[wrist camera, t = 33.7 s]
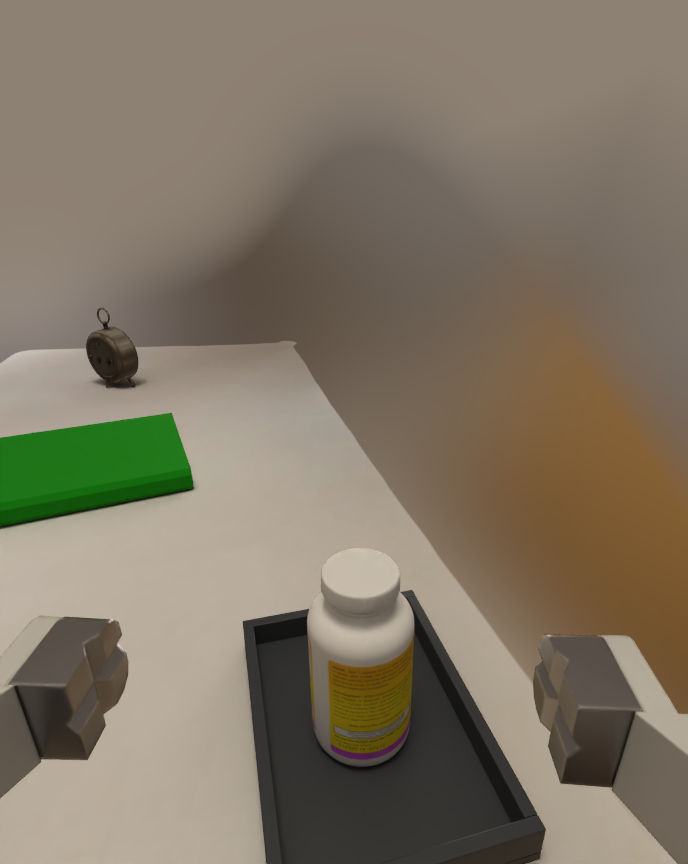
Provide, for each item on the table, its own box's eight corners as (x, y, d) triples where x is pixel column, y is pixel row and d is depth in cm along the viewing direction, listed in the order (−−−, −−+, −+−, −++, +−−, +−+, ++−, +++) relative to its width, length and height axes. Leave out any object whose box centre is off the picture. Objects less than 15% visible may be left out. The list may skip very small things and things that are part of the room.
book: (-25, 460, 75) (-31, 442, 74) (174, 429, 86) (171, 413, 84) (-68, 542, 56) (-77, 519, 55) (193, 490, 67) (190, 469, 65)
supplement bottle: (430, 734, 34) (442, 580, 29) (349, 794, 31) (347, 630, 26) (369, 668, 39) (371, 526, 34) (294, 713, 36) (284, 562, 31)
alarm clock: (144, 385, 108) (131, 307, 102) (122, 393, 104) (107, 311, 97) (110, 378, 113) (95, 303, 107) (88, 385, 109) (71, 307, 103)
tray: (540, 858, 28) (546, 829, 27) (275, 945, 25) (271, 916, 24) (411, 612, 46) (412, 589, 45) (245, 645, 43) (242, 620, 42)
